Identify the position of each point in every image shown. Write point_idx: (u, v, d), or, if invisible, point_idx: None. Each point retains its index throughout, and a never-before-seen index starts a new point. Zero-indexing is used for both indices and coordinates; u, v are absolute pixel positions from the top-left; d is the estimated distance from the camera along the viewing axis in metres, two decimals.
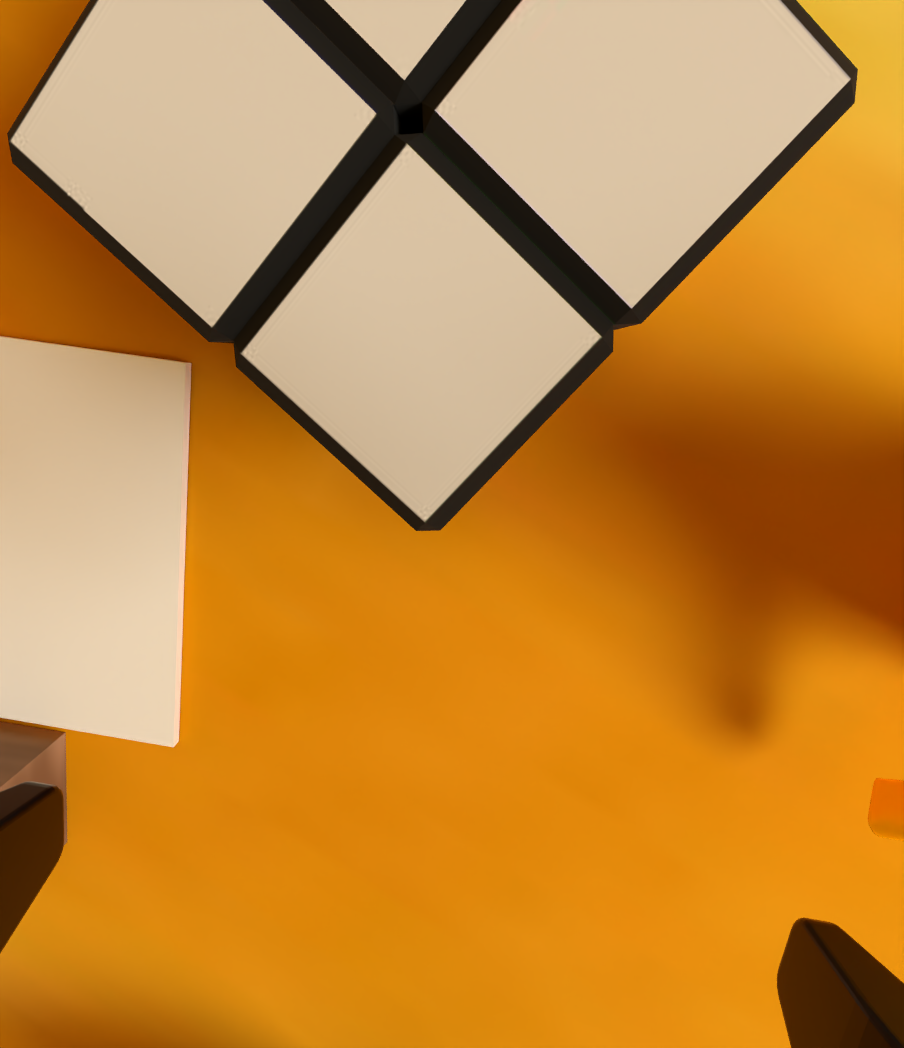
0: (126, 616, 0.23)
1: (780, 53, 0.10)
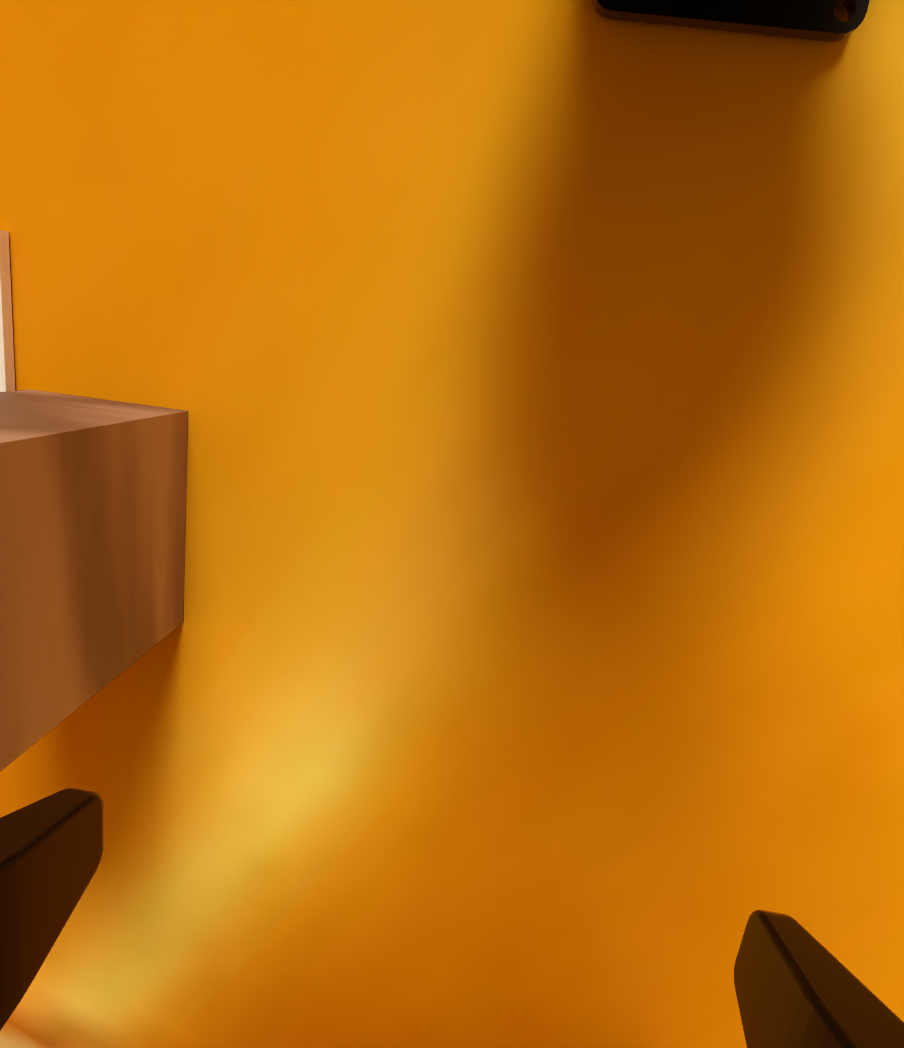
0: None
1: None
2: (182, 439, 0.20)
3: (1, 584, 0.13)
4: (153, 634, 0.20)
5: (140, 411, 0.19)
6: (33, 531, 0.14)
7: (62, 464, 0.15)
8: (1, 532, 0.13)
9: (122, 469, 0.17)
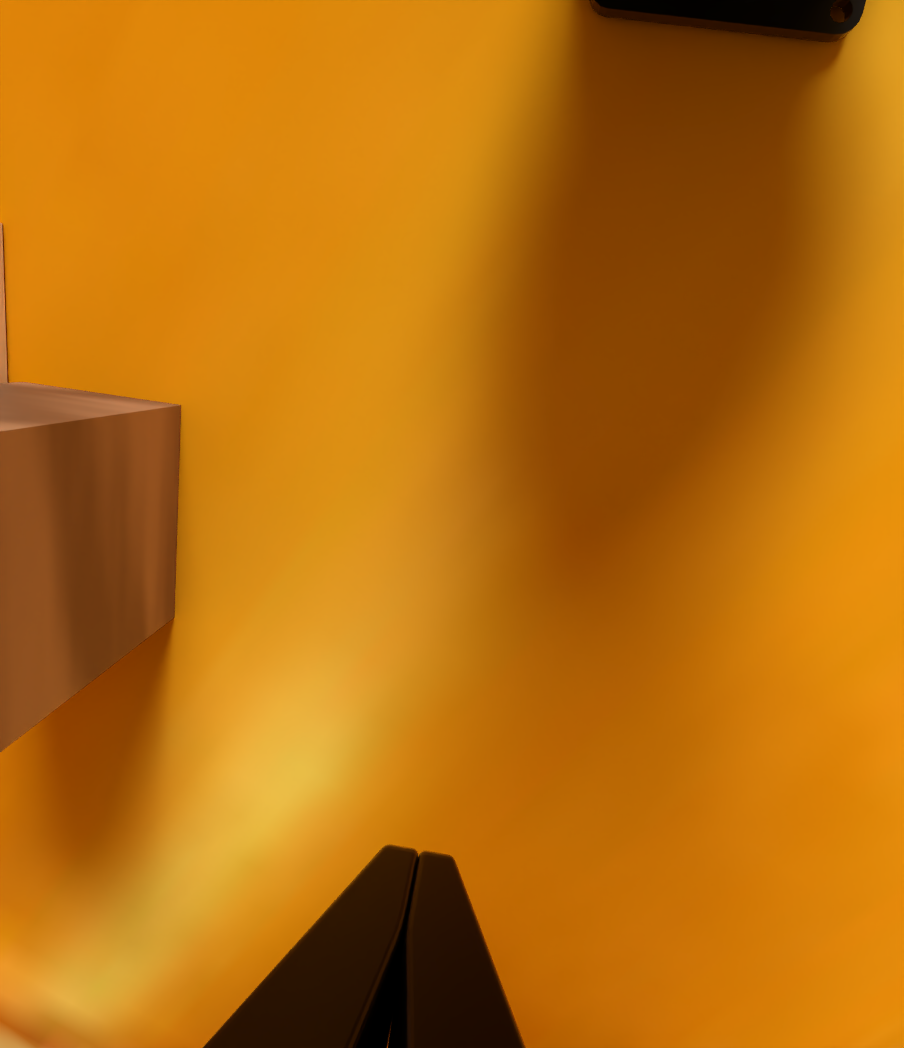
0: None
1: None
2: (174, 433, 0.20)
3: None
4: (143, 629, 0.20)
5: (132, 404, 0.19)
6: (21, 523, 0.14)
7: (50, 455, 0.15)
8: None
9: (113, 462, 0.17)
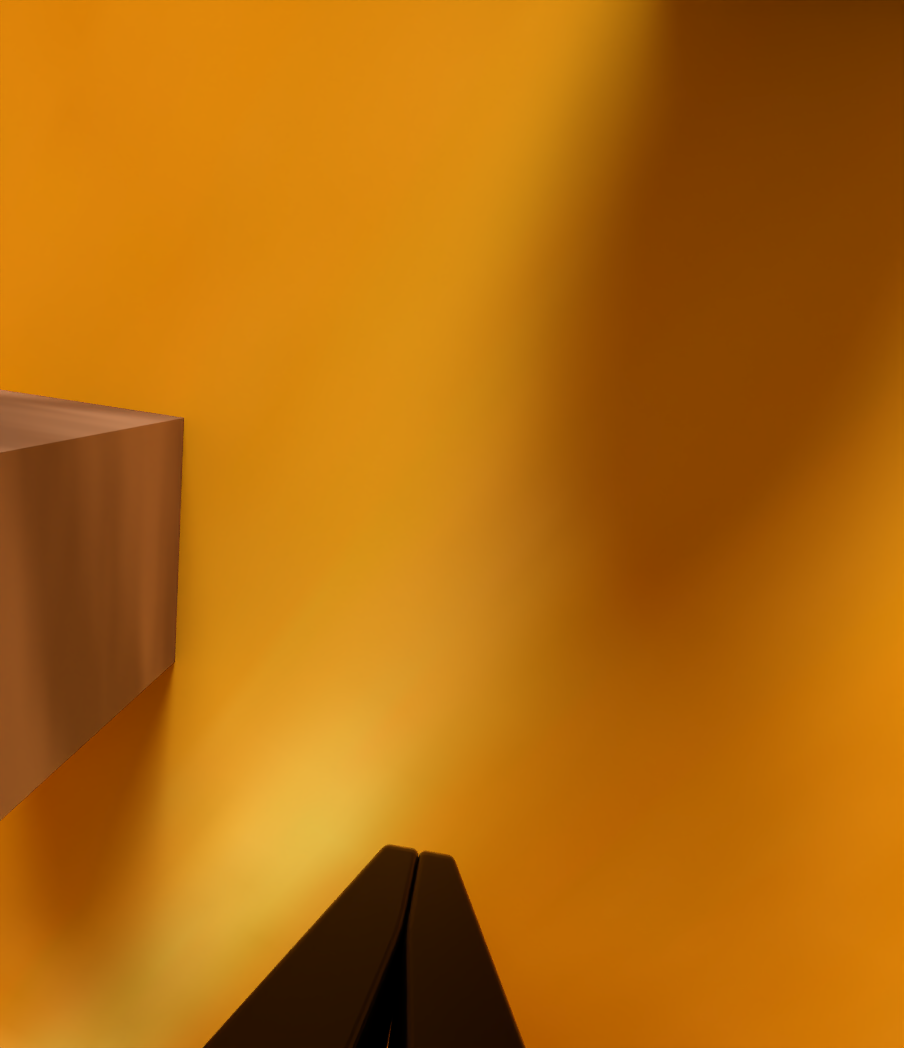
0: None
1: None
2: (176, 451, 0.17)
3: None
4: (138, 680, 0.17)
5: (126, 418, 0.16)
6: None
7: (21, 487, 0.12)
8: None
9: (102, 490, 0.14)
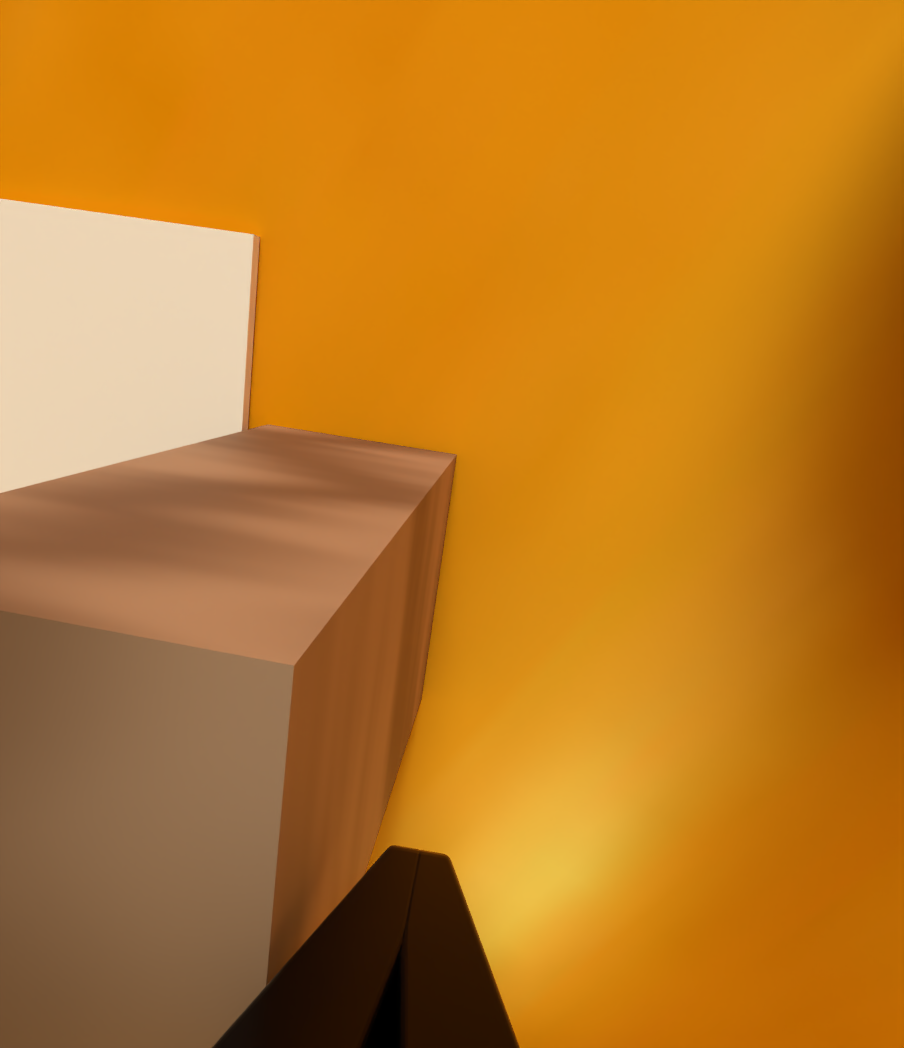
0: (54, 287, 0.16)
1: None
2: (450, 489, 0.17)
3: (372, 714, 0.10)
4: (411, 722, 0.17)
5: (419, 458, 0.16)
6: (392, 636, 0.11)
7: (413, 543, 0.11)
8: (381, 647, 0.10)
9: (429, 537, 0.14)
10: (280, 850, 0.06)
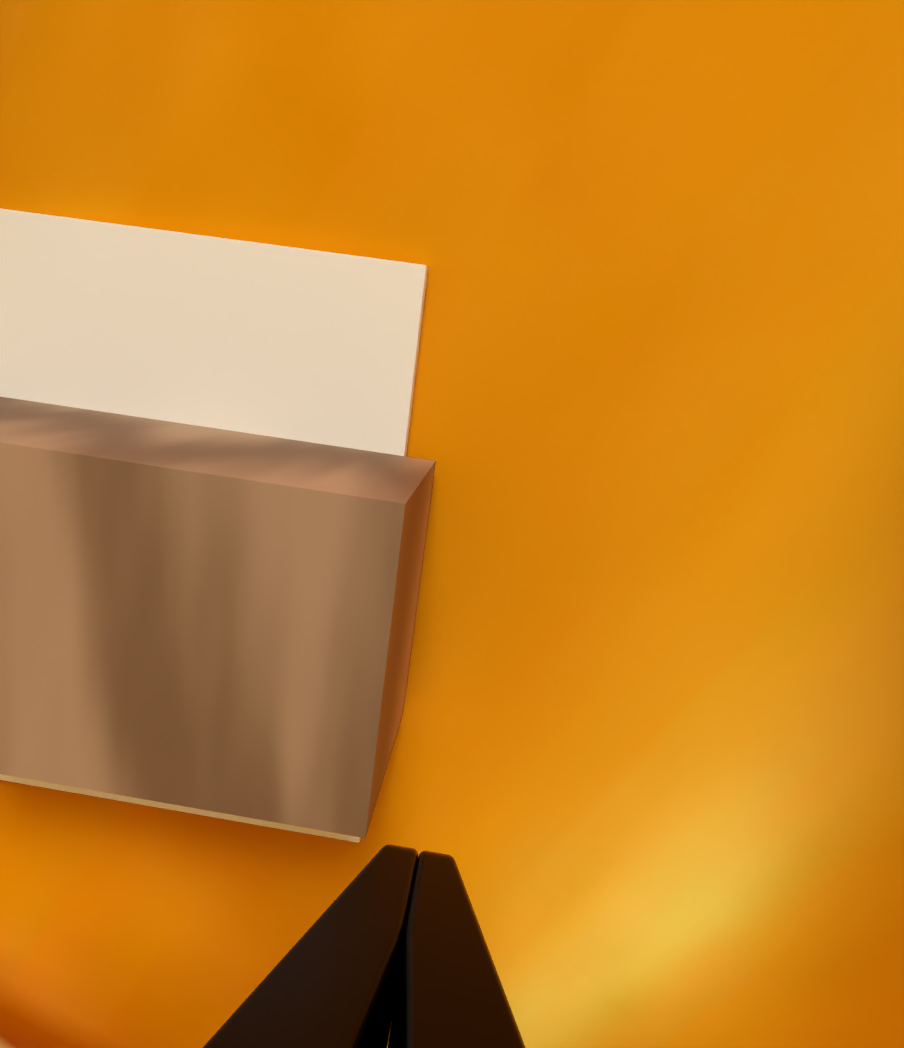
0: (215, 319, 0.16)
1: None
2: (381, 546, 0.12)
3: None
4: (273, 805, 0.13)
5: (339, 484, 0.12)
6: (31, 552, 0.12)
7: (79, 491, 0.12)
8: None
9: (206, 540, 0.12)
10: None
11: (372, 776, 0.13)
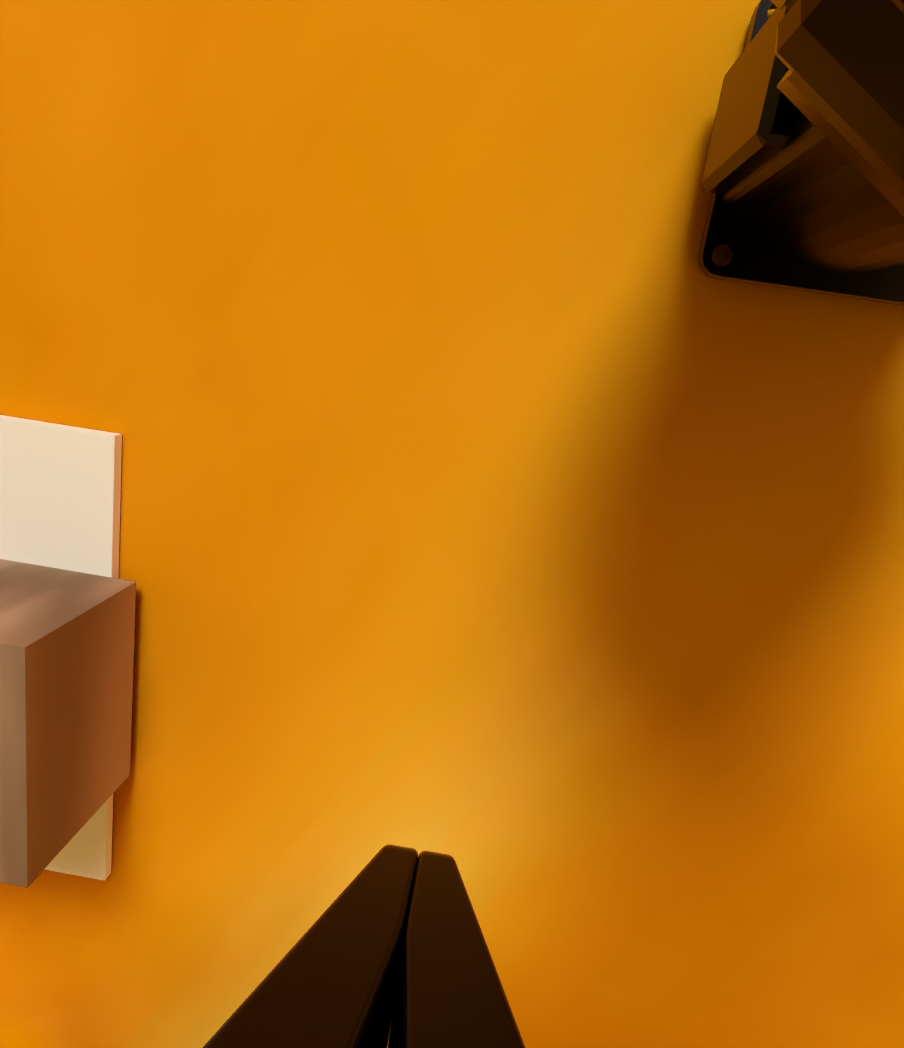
0: None
1: None
2: (11, 676, 0.16)
3: None
4: None
5: None
6: None
7: None
8: None
9: None
10: None
11: (28, 841, 0.17)
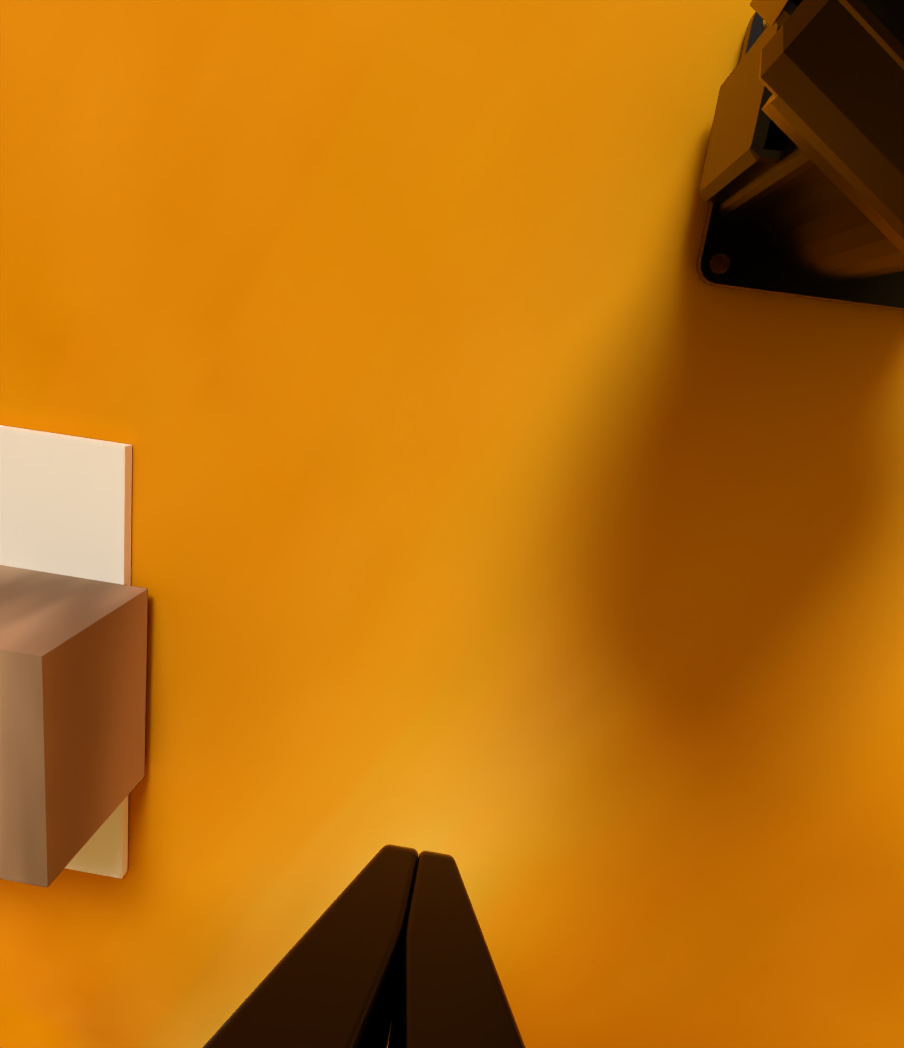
0: None
1: None
2: (29, 684, 0.17)
3: None
4: None
5: (10, 635, 0.17)
6: None
7: None
8: None
9: None
10: None
11: (47, 843, 0.18)
